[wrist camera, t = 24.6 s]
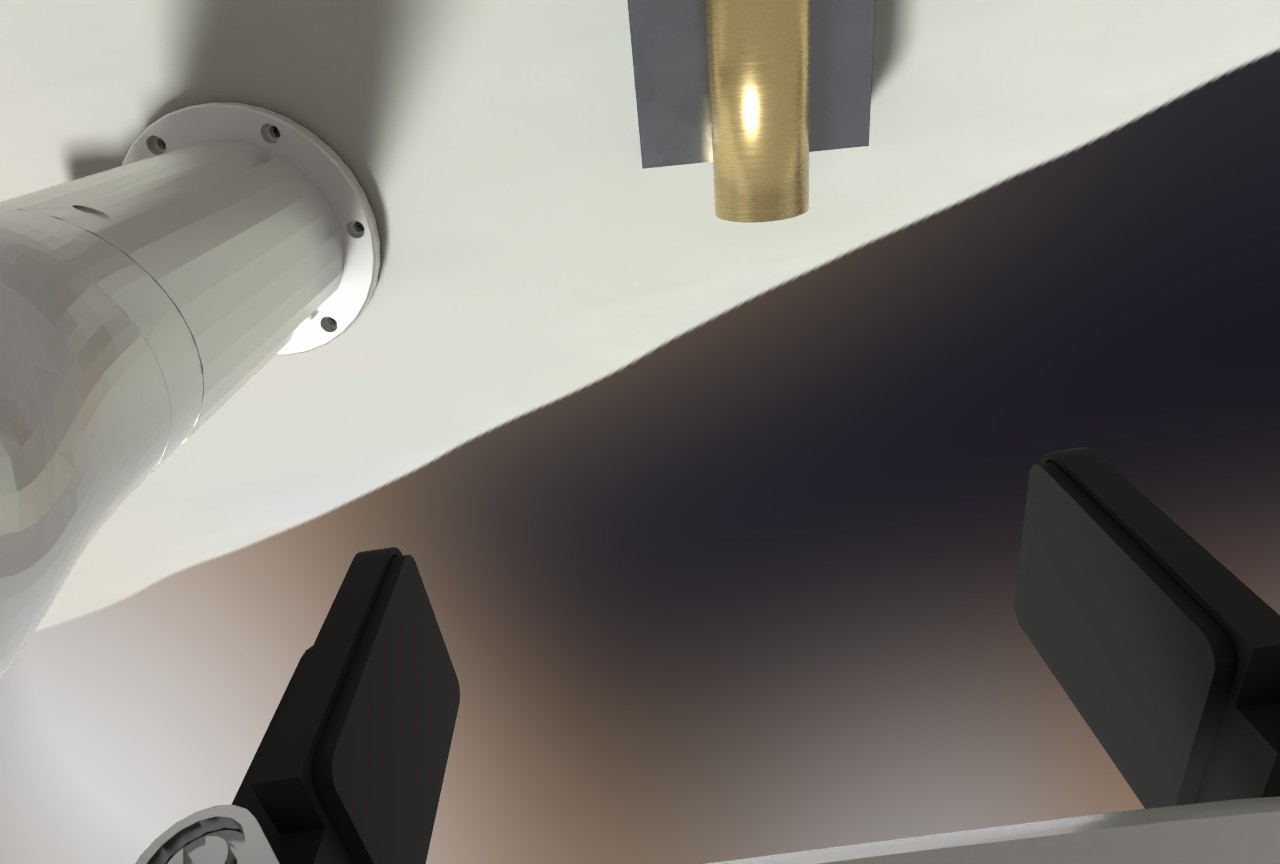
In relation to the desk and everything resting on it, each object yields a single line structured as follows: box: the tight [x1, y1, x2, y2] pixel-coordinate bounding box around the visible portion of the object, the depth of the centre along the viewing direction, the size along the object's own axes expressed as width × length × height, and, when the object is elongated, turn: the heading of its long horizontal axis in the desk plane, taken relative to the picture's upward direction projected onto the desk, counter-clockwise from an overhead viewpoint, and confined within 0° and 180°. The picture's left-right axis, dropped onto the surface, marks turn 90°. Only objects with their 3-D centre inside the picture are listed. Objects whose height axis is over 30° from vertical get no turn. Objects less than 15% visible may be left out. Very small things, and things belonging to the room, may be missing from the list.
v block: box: [628, 0, 875, 168], centre depth 33 cm, size 10×10×4 cm
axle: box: [706, 0, 811, 222], centre depth 31 cm, size 12×4×4 cm, turn 5°
